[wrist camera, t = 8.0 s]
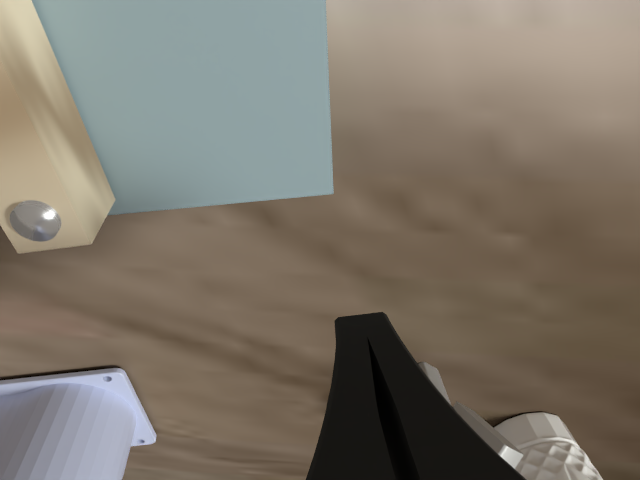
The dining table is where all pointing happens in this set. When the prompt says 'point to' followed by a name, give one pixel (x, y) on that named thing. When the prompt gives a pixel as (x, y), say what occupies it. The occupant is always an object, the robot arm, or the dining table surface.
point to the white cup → (546, 448)
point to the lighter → (477, 422)
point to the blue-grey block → (199, 97)
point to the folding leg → (43, 144)
